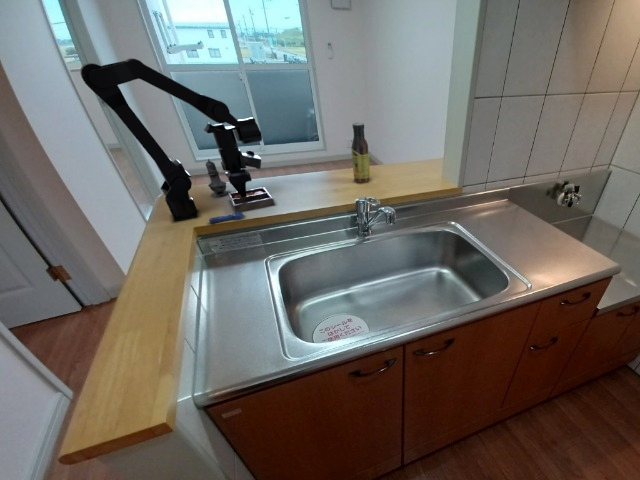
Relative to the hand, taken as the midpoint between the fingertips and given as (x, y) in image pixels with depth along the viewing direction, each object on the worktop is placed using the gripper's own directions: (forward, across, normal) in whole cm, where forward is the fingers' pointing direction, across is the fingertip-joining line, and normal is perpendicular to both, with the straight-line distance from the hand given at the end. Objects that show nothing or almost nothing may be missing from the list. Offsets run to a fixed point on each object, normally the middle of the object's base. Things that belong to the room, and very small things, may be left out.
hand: (243, 196), depth 110 cm
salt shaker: (+2, +11, +6) cm, 13 cm away
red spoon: (+1, 0, -2) cm, 2 cm away
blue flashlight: (+2, -13, +7) cm, 15 cm away
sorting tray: (+2, -3, -2) cm, 4 cm away
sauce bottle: (+2, -3, -43) cm, 43 cm away
